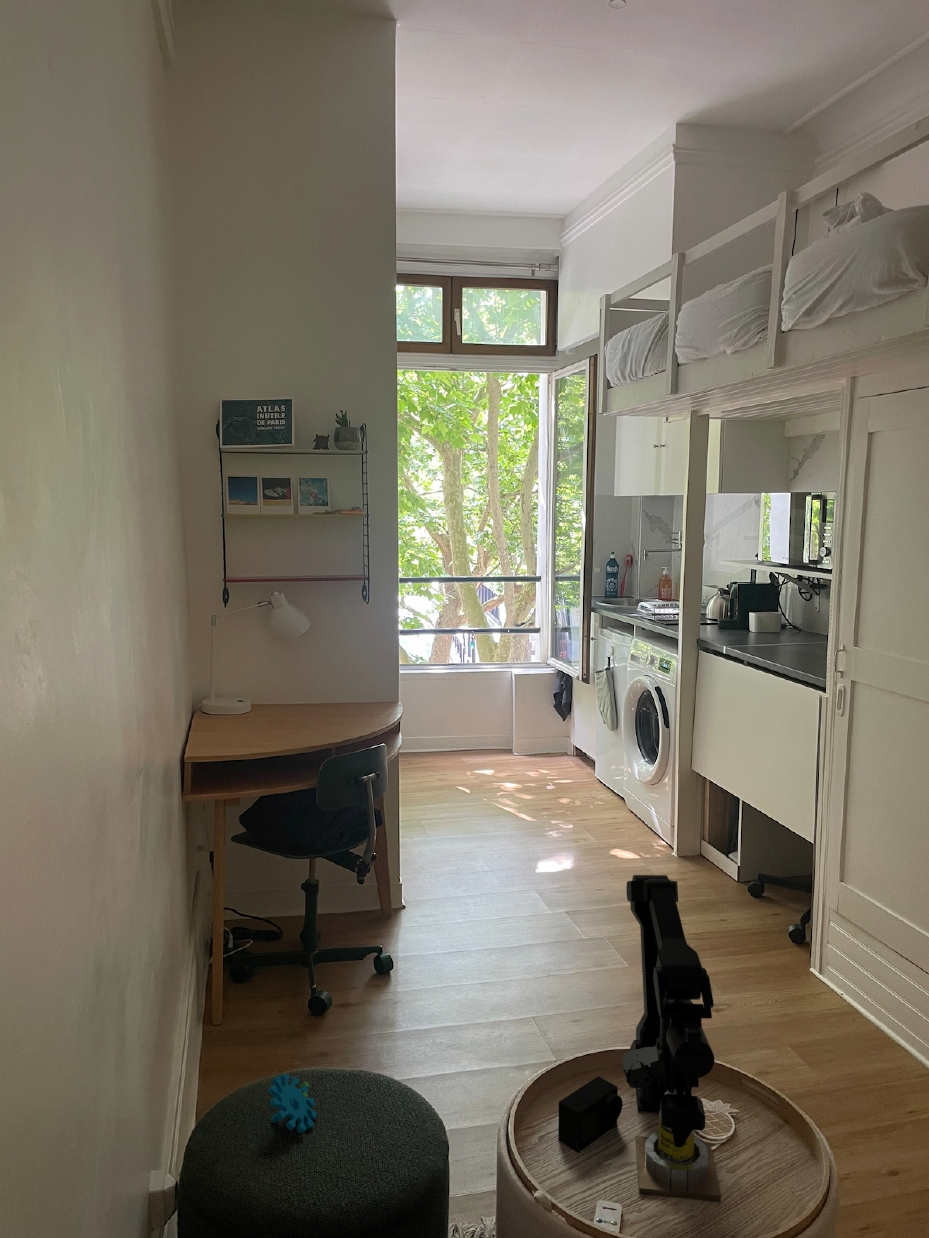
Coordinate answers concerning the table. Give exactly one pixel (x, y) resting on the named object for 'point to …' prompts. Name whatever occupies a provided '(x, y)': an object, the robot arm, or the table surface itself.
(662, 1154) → the supplement bottle
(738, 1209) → the table surface
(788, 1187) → the table surface
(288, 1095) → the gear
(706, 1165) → the collar holder
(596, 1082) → the digital camera
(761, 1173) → the table surface
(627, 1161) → the table surface
